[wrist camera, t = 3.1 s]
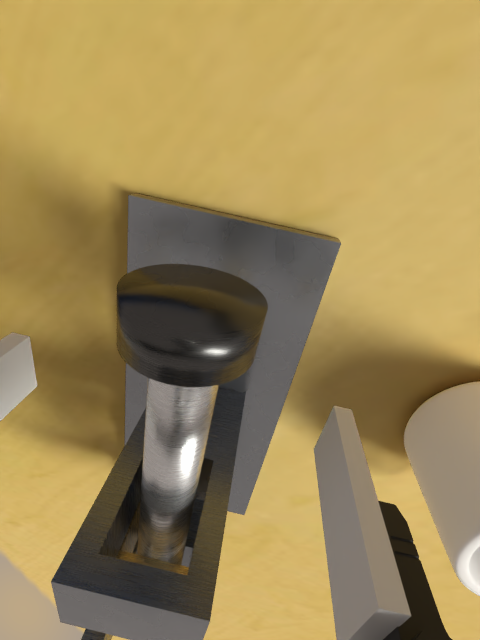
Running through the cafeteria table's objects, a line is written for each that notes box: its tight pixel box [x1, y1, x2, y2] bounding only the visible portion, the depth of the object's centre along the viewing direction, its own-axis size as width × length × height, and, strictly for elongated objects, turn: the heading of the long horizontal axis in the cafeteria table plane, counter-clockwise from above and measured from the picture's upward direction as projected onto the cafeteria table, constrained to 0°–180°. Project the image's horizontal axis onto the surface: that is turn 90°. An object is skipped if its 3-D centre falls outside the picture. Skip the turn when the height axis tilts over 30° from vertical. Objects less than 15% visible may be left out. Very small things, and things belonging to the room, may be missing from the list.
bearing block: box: [51, 193, 341, 640], centre depth 18 cm, size 27×12×14 cm, turn 169°
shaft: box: [117, 264, 268, 565], centre depth 16 cm, size 23×5×5 cm, turn 169°
